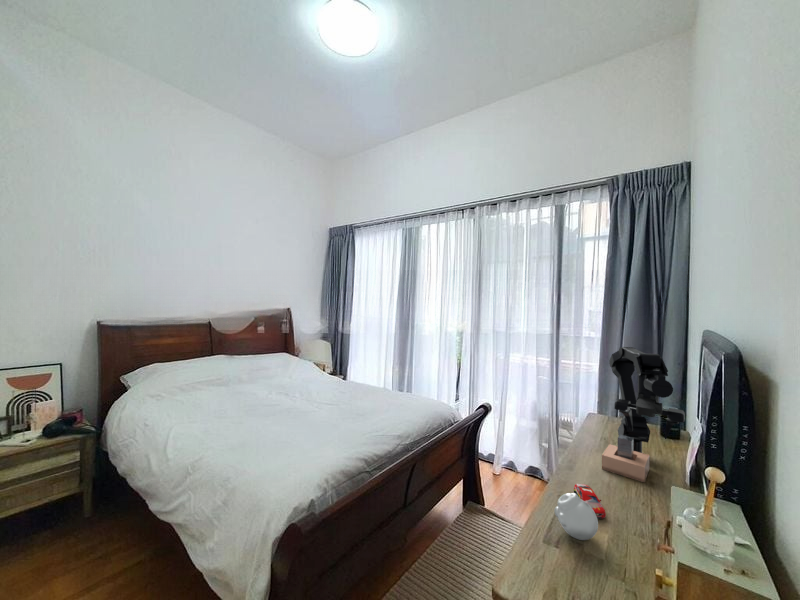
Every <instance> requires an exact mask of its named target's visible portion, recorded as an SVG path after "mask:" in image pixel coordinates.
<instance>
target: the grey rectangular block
mask: <svg viewBox="0 0 800 600" xmlns="http://www.w3.org/2000/svg"><path fill="white" fill-rule="evenodd" d="M617 446H618V456H619V457H623V458H626V459H630V460H633V461H634V451H633V438H632V437H628V436H624V435H618V437H617Z"/></svg>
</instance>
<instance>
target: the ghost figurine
mask: <svg viewBox="0 0 800 600" xmlns="http://www.w3.org/2000/svg"><path fill="white" fill-rule="evenodd" d="M553 510H554V515H555V517H556V518H557V519H558V522H559V524H560V525H561V527H562V529H563V530H564V531H565V532H566V533H567V534H568V535H569V536H570V537H572V538H574V539H577V540H580V541H588V540H590V539H592V538H593V537H595V535H596V534H597V532H598V530H599V528H598V527H599V521H598V520H599V519H597V516H596V514H595V512H594V510H593V509H592V508H591V506H590V505H589V504H588V503H586V502H585V501H583V500H582V499H580V498H579V497H578V495H577V494H575V493H574V492H567V493H564V494H562V495H561V496H560V497H559V498H558V499H557V506H555V507H554V509H553Z"/></svg>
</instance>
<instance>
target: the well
mask: <svg viewBox="0 0 800 600" xmlns="http://www.w3.org/2000/svg"><path fill="white" fill-rule="evenodd" d="M601 470H603V471H606V472H611V473H612V474H616V475H619V476H621V477H625V478H628V479H633V480H635V481H638V482H641V483H644V484H645V482H646V479H647V477H648V475H649V472H650V454H646V453H644V452H642V453H640V452H636V451H634V461H633V460H630V459H626V458H623V457H619V456H618V445H613V444H610V443H609V444H608V445H607V447H606V448H605V449H604V451H603V453H602V454H601Z"/></svg>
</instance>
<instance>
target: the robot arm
mask: <svg viewBox="0 0 800 600" xmlns="http://www.w3.org/2000/svg"><path fill="white" fill-rule="evenodd" d="M610 355H611V356H610V358H609V359H608V360H609V363H608V364H609V366H610V368H611V371H612V373H613V375H614V376H615V377H616V378H617V379H618V385H619V386H618V387H619V390H620V396H621V398H618V399H616V401H615V402H614V409H615V410H617V411H618V413H621V414H622V415H623V416H622V418H621V420H620V422H621V423H620V425H619V426H618V429H617V434H618V436H619V435H624V436H628V437H632V438H633V451H636V452H640V453H643V443H648V444H649V440H650V436H651V430H650V428H649V426H648V422H647V418H646V417H649V418H655V417H656V415H660V416H664V417H667V419H666V424H665V425H666V426H665V429H664V439H665V440H666V439H667V438H668V435H669V434H670V431H671V429H672V428H673V427H674V425H678V424H679V423H683V424H684V423H685V419H686V418H685V417H686V416H685V413H686V412H685V411H684V410H683V409H677V408H671V407H669V408H668V410H666V409H664V408H663V407H664V406H663V403H662V402H659V401H660V400H659V399H660V398H664V399H665V398H668V397H670V396H671V395H672V394H673V393H674V387H673V385H672V383H671V382H670V381H668V380H667V379H666V377H668V376H669V374H668V372H669V370H668V368H667V365H666V363H665V361H664V359H663V357H662V356H661V355H660V354H658V353H647V352H646V353H645V352H643V351H641V350H639V349H636V348H635V347H631V346H630V347H629V346H622V347H619V348H618V350H617V351H615V352H614V353H612V354H610ZM635 370H636V373H637V397H636V392H635V387H634V383H633V377H632V376H633V374H634V373H635ZM645 416H646V417H645Z"/></svg>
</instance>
